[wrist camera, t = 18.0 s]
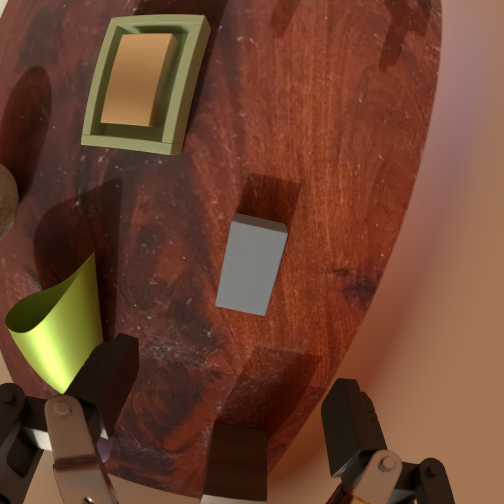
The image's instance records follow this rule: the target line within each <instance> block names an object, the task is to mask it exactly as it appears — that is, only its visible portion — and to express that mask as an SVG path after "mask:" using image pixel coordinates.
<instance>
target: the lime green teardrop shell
mask: <svg viewBox="0 0 504 504" xmlns="http://www.w3.org/2000/svg"><path fill="white" fill-rule="evenodd" d="M5 323H6V326H7V328H8V330H9V332H10V333H11V335H12V337H13V339H14V341H15V342H16V344H17V346H18V347H19V349H20V351H21V352H22V354H23V355H24V357H25V358H26V359H27V361H28V362H29V364H30V365H31V366H32V367H33V369H34V370H35V371H36V372H37V373H38V374H39V375H40V376H41V377H42V378H43V379H44V380H45V381H46V382H47V383H48V384H49V385H50V386H52V387H53V388H54V389H55V390H57V391H58V392H60V393H62V394H63V393H64V392H65V391H66V390H67V388H68V387H69V385H70V383H71V382H72V380H73V379H74V377H75V376H76V374H77V373H78V371H79V370H80V368H81V367H82V365H84V363H85V361H86V360H87V358H89V355H90V354H91V352H92V351H93V350H94V348H95V347H96V346H98V345H100V344H101V343H103V334H102V324H101V315H100V306H99V296H98V286H97V276H96V263H95V251H94V252H93V254H92V255H91V256H90V257H89V258H88V259H87V260H86V261H85V262H84V263H83V265H82V266H81V267H80V268H79V269H78V270H77V271H76V272H74V273H73V274H72V275H71V276H70V277H69V278H67V279H66V280H65V281H63V282H61V283H60V284H58V285H56V286H54V287H51V288H48V289H46V290H43V291H40V292H37V293H34V294H31V295H29V296H27V297H25V298H23V299H22V300H20V301H19V302H18V303H17V304H15V305H14V306H13V307H12V309H11V310H10V311H9V313H8V314H7V316H6V319H5Z"/></svg>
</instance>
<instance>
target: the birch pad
mask: <svg viewBox="0 0 504 504" xmlns="http://www.w3.org/2000/svg"><path fill="white" fill-rule="evenodd" d="M180 46H181V43H180V42H179V41H178V40H177V39H176V38H175V37H174V35H173V34H169V33H151V34H126V35H122V38H121V41H120V44H119V48H118V51H117V54H116V58H115V61H114V65H113V68H112V72H111V76H110V80H109V84H108V88H107V93H106V97H105V102H104V107H103V112H102V117H101V123H114V124H126V125H138V126H148V127H157V128H160V127H161V123H162V118H163V113H164V109H165V104H166V100H167V96H168V91H169V87H170V83H171V79H172V75H173V71H174V68H175V64H176V60H177V57H178V53H179V50H180Z"/></svg>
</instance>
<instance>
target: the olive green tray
mask: <svg viewBox="0 0 504 504" xmlns="http://www.w3.org/2000/svg"><path fill="white" fill-rule="evenodd" d="M210 32H211V27H210V25H209V23H208V21H207V19H206V17H205V15H188V14H158V15H138V16H126V17H116V18H112V19H111V22H110V25H109V27H108V30H107V33H106V36H105V39H104V42H103V45H102V48H101V52H100V55H99V58H98V62H97V65H96V69H95V73H94V77H93V81H92V85H91V90H90V94H89V99H88V104H87V109H86V114H85V120H84V126H83V132H82V134H83V135H82V140H81V144H82V145H92V146H103V147H113V148H122V149H130V150H138V151H146V152H153V153H160V154H167V155H172V154H180V153H181V151H182V146H183V141H184V136H185V131H186V126H187V121H188V117H189V112H190V108H191V103H192V99H193V95H194V91H195V87H196V82H197V79H198V75H199V71H200V67H201V63H202V60H203V56H204V52H205V49H206V45H207V42H208V39H209V35H210ZM151 33H169V34H173V35H174V37H175V38H176V39H177V40H178V41H179V42H180V43H181V46H180V50H179V53H178V57H177V60H176V64H175V68H174V71H173V75H172V79H171V83H170V87H169V91H168V96H167V100H166V104H165V109H164V113H163V118H162V123H161V127H160V128H157V127H148V126H138V125H126V124H114V123H101V117H102V112H103V107H104V102H105V97H106V93H107V88H108V84H109V80H110V76H111V72H112V68H113V65H114V61H115V58H116V54H117V51H118V48H119V44H120V41H121V38H122V35H126V34H151Z"/></svg>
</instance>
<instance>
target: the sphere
mask: <svg viewBox="0 0 504 504" xmlns="http://www.w3.org/2000/svg"><path fill="white" fill-rule="evenodd" d="M97 448H98V451H99V453H100V456H101V459H102V461H103V462H105V461H106V460H107V458H108V457H109V454H110V446H109V442H108V440H107V439H105V438H103V437H100V438H99V440H98V443H97Z"/></svg>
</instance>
